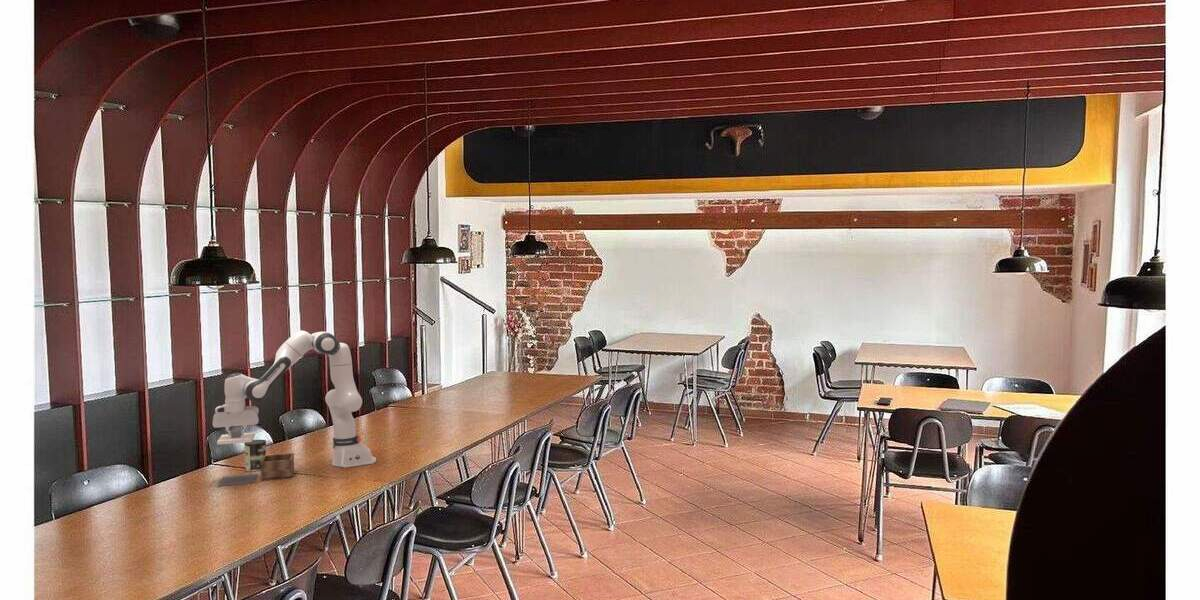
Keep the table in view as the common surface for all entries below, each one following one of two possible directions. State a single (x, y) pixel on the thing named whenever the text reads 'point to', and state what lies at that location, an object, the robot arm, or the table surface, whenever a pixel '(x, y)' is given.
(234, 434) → the lid
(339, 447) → the robot arm
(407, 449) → the table surface
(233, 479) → the mat
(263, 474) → the storage box
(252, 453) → the coffee can
